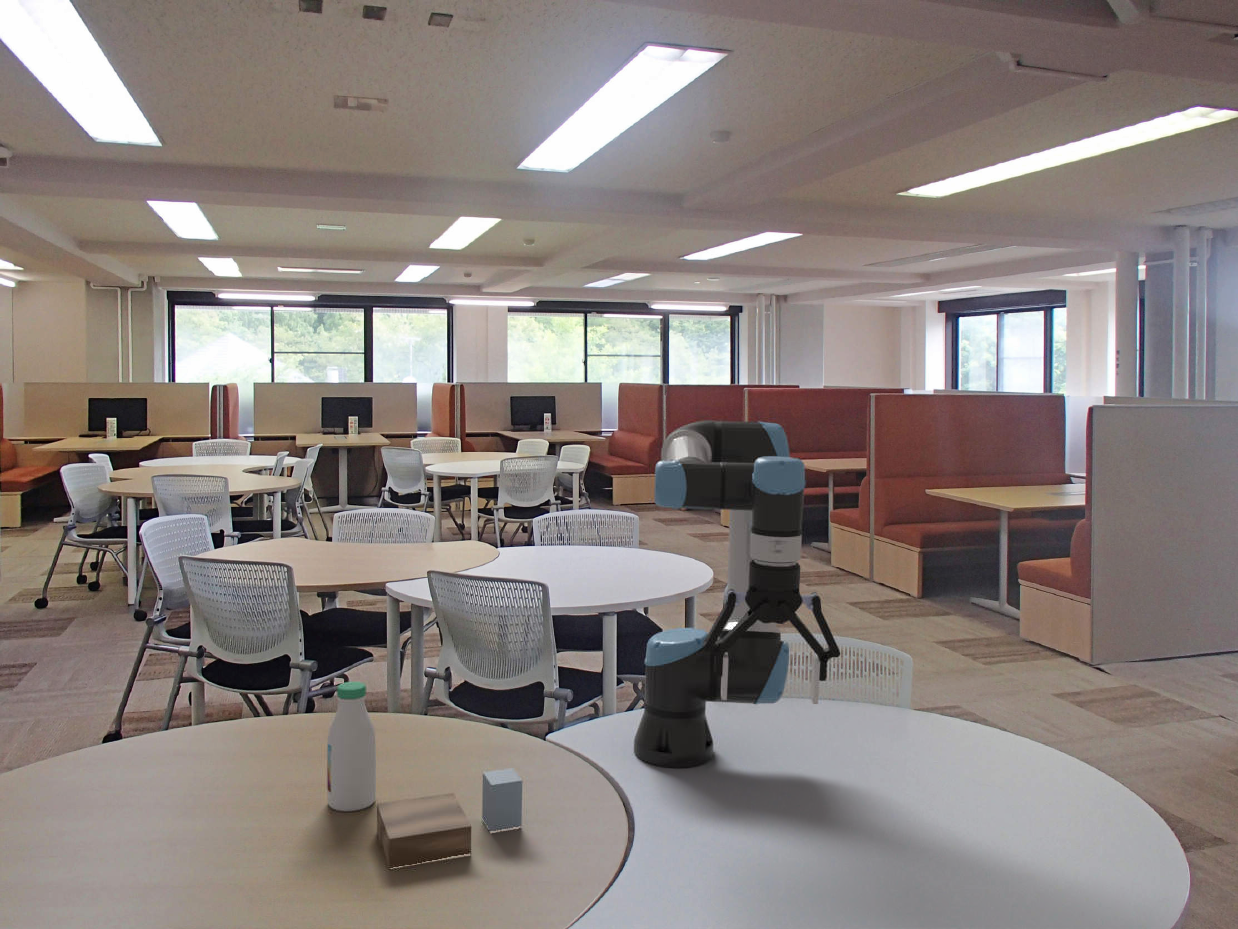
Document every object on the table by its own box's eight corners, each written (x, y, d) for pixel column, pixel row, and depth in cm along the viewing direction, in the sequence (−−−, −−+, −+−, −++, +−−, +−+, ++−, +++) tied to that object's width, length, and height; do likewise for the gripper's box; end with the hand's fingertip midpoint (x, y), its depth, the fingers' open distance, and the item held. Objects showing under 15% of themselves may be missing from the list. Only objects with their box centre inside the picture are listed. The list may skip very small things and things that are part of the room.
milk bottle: (385, 798, 165) (385, 682, 163) (354, 817, 158) (354, 696, 156) (348, 788, 168) (348, 675, 166) (317, 806, 161) (316, 688, 159)
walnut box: (377, 834, 153) (376, 803, 153) (453, 822, 158) (453, 793, 157) (389, 872, 142) (389, 839, 142) (471, 858, 147) (471, 826, 146)
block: (482, 820, 158) (482, 772, 157) (512, 815, 160) (512, 768, 159) (490, 834, 153) (491, 785, 153) (521, 829, 155) (522, 780, 155)
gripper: (691, 563, 143) (686, 703, 146) (864, 569, 142) (856, 711, 144) (690, 552, 151) (685, 686, 153) (855, 558, 149) (847, 693, 152)
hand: (768, 699), depth 149 cm, fingers open, 13 cm apart
